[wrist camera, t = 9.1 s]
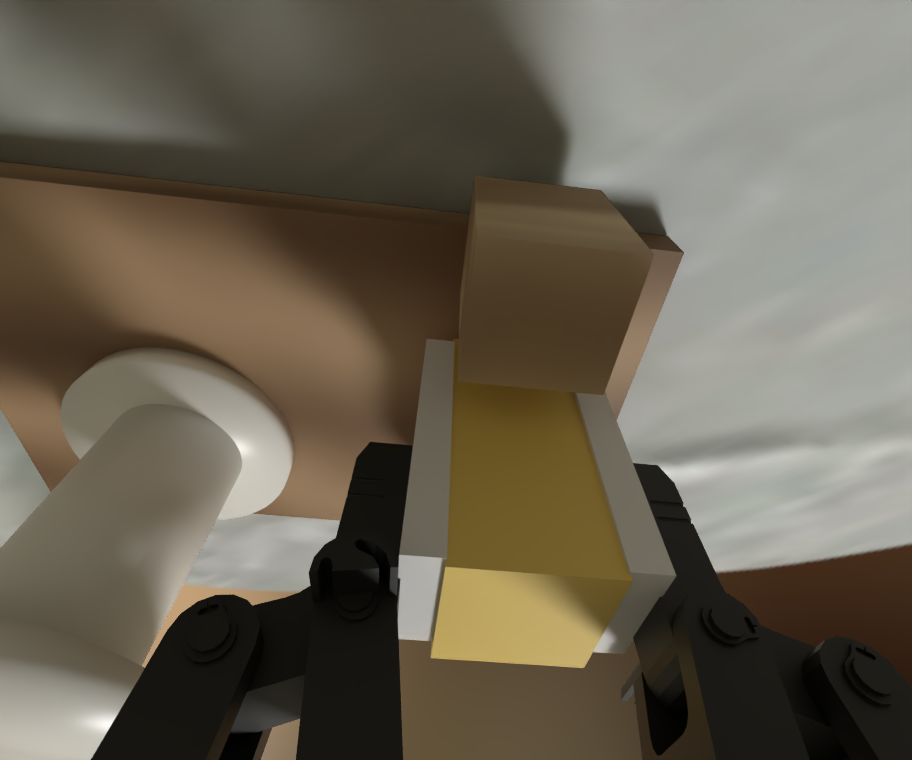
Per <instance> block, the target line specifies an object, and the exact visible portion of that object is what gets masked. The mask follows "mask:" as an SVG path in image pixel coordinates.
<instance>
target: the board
mask: <svg viewBox="0 0 912 760" xmlns="http://www.w3.org/2000/svg"><path fill="white" fill-rule="evenodd" d="M683 254H684V252H683V251H682V250H681V249H680V248H679V247H678V246H677V245H676V244H675V243H674V242H673V241H672V240H671V239H670V238H669V237H668V236H663V235H654V234H645V233H636V232H635V231H634V229H633V228H632V227H631V226H630V225H629V223H628V222H627V221H626V220H625V219H624V217H623V216H622V215H621V214H620V213H619V211H618V210H617V209H616V208H615V207H614V205H613V204H612V203H611V202H610V200H609V199H608V198H607V197H606V196H605V194H604V193H603V192H602V191H601V190H594V189H586V188H577V187H568V186H560V185H551V184H542V183H534V182H525V181H516V180H508V179H499V178H490V177H482V176H474V182H473V190H472V199H471V207H470V214H466V213H457V212H448V211H439V210H430V209H421V208H412V207H403V206H394V205H385V204H376V203H367V202H358V201H349V200H340V199H331V198H322V197H313V196H304V195H295V194H286V193H277V192H268V191H259V190H250V189H241V188H232V187H224V186H215V185H206V184H197V183H188V182H179V181H170V180H161V179H152V178H143V177H134V176H125V175H116V174H107V173H98V172H89V171H80V170H71V169H62V168H53V167H44V166H35V165H26V164H17V163H8V162H0V408H1V410H2V412H3V413H4V415H5V417H6V418H7V420H8V422H9V423H10V425H11V427H12V428H13V430H14V432H15V433H16V435H17V437H18V438H19V440H20V442H21V443H22V445H23V447H24V448H25V450H26V452H27V453H28V455H29V457H30V458H31V460H32V462H33V463H34V465H35V467H36V468H37V470H38V471H39V473H40V475H41V476H42V478H43V480H44V481H45V483H46V485H47V486H48V488H49V490H50V491H51V492H52V491H53V489H54V488H55V487H56V486H57V485H58V484H59V483H60V482H61V481H62V479H63V478H64V477H65V476H66V475H67V474H68V473H69V472H70V471H71V469H72V468H73V467H74V466H75V465H76V464H77V463H78V462H79V461H80V459H79V458H78V456H77V455H76V454H75V453H74V451H73V450H72V448H71V446H70V445H69V443H68V441H67V439H66V436H65V434H64V432H63V428H62V424H61V414H60V410H61V404H62V400H63V398H64V396H65V393H66V391H67V390H68V389H69V387H70V386H71V385H72V384H73V383H74V382H75V381H76V380H77V379H78V378H79V377H80V376H81V375H83V374H84V373H85V372H86V371H87V370H88V369H89V368H90V367H92V366H93V365H94V364H95V363H96V362H97V361H99V360H101V359H102V358H104V357H106V356H108V355H110V354H113V353H116V352H119V351H123V350H128V349H133V348H145V347H154V348H168V349H175V350H181V351H185V352H189V353H193V354H197V355H200V356H202V357H205V358H208V359H211V360H213V361H216V362H218V363H220V364H222V365H225V366H227V367H229V368H230V369H232V370H234V371H236V372H237V373H239V374H241V375H242V376H244V377H245V378H247V379H248V380H250V381H251V382H253V383H254V384H255V385H256V386H257V387H259V388H260V389H261V390H262V391H263V392H265V393H266V394H267V395H268V396H269V398H270V399H271V400H272V401H273V402H274V403H275V404H276V405H277V407H278V408H279V409H280V411H281V412H282V413H283V415H284V417H285V418H286V420H287V422H288V424H289V426H290V428H291V431H292V433H293V437H294V442H295V459H294V463H293V466H292V469H291V472H290V474H289V477H288V479H287V482H286V484H285V487H284V488H283V490H282V492H281V493H280V495H279V496H278V497H277V498H276V499H275V500H274V501H273V502H272V503H271V504H269V505H268V506H267V507H265V508H263V509H261V510H259V511H257V512H255V513H254V514H267V515H279V516H291V517H304V518H316V519H328V520H341V516H342V513H343V509H344V505H345V501H346V497H347V494H348V489H349V485H350V481H351V479H352V474H353V470H354V466H355V462H356V458H357V457H358V455H359V454H360V453H361V452H362V451H363V449H364V448H365V447H366V446H367V445H368V444H369V442H379V443H391V444H402V445H413V442H414V434H415V426H416V419H417V411H418V403H419V395H420V387H421V379H422V371H423V363H424V356H425V348H426V340H427V339H435V340H446V341H453V338H454V339H459V354H458V381H459V382H470V383H480V384H491V385H501V386H512V387H522V388H533V389H543V390H554V391H564V392H575V393H585V394H596V395H604V393H605V392H606V395H607V398H608V400H609V403H610V405H611V408H612V411H613V413H614V416H615V418H616V420H617V418H618V415H619V413H620V410H621V408H622V405H623V403H624V400H625V398H626V395H627V393H628V390H629V388H630V385H631V383H632V380H633V378H634V375H635V373H636V370H637V368H638V365H639V363H640V361H641V358H642V356H643V353H644V351H645V348H646V346H647V343H648V341H649V338H650V336H651V333H652V331H653V328H654V326H655V323H656V321H657V318H658V316H659V313H660V311H661V308H662V306H663V303H664V301H665V298H666V296H667V293H668V291H669V289H670V286H671V284H672V281H673V279H674V276H675V274H676V271H677V269H678V266H679V264H680V261H681V259H682V256H683Z"/></svg>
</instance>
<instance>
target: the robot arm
mask: <svg viewBox="0 0 912 760" xmlns="http://www.w3.org/2000/svg"><path fill="white" fill-rule="evenodd" d="M454 346H455V341H446V340H435V339H427V340H426V348H425V356H424V363H423V371H422V379H421V387H420V395H419V403H418V411H417V419H416V426H415V434H414V442H413V445H402V444H391V443H379V442H369V444H368V445H367V446H366V447H365V448H364V449H363V451H362V452H361V453H360V454H359V455H358V457H357V458H356V462H355V466H354V470H353V474H352V479H351V481H350V485H349V489H348V494H347V497H346V501H345V505H344V509H343V513H342V516H341V520H340V524H339V528H338V532H337V536H336V538H335V539H334V540H332V541H330V542H328V543H327V544H325V545H324V546H323V547H322V549H321V550H320V551H319V552H318V553H317V554H316V556H315V557H314V559H313V562H312V565H311V568H310V571H309V577H310V585H311V586H309V587H308V588H306V589H304V590H303V591H301V592H299V593H297V594H294V595H291V596H288V597H286V598H281V599H278V600H273V601H269V602H265V603H261V604H258V605H254V606H252V605H251V604H250V602H248V600H246V599H243V598H241V597H238V596H236V595H215V596H212V597H209V598H206V599H204V600H201V601H198V602H196V603H195V604H194V605H192V606H191V607H190V608H188V609H187V610H185V611H184V612H182V613H181V614H180V615H179V616H178V618H177V619H176V620H175V622H174V623H173V624H172V625H171V626H170V628H169V629H168V630H167V632H166V633H165V635H164V637H163V639H162V640H161V642H160V644H159V645H158V647H157V649H156V650H155V652H154V654H153V656H152V657H151V659H150V661H149V662H148V664H147V666H146V667H145V669H144V671H143V672H142V674H141V676H140V677H139V679H138V681H137V682H136V684H135V686H134V687H133V689H132V691H131V693H130V694H129V696H128V698H127V699H126V701H125V703H124V704H123V706H122V708H121V709H120V711H119V713H118V714H117V716H116V718H115V720H114V721H113V723H112V725H111V726H110V728H109V730H108V731H107V733H106V735H105V736H104V738H103V740H102V741H101V743H100V745H99V747H98V748H97V750H96V752H95V753H94V755H93V757H92V758H91V760H261V757H262V754H263V752H264V748H265V746H266V743H267V740H268V737H269V735H270V732H271V729H272V727H275V726H278V725H281V724H284V723H287V722H291V721H294V720H297V719H299V718H300V727H299V736H298V745H297V754H296V760H403V748H402V722H401V721H402V720H401V694H400V669H399V668H400V667H399V640H398V639H408V640H423V641H433V636H434V630H435V624H436V617H437V611H438V605H439V599H440V593H441V586H442V580H443V574H444V568H445V562H446V561H447V545H448V517H449V488H450V460H451V432H452V403H453V375H454ZM573 393H574V397H575V400H576V403H577V406H578V410H579V413H580V416H581V420H582V423H583V426H584V429H585V433H586V436H587V439H588V442H589V446H590V449H591V452H592V455H593V459H594V462H595V465H596V468H597V472H598V475H599V478H600V481H601V485H602V488H603V491H604V494H605V498H606V501H607V504H608V507H609V511H610V514H611V517H612V520H613V524H614V527H615V530H616V534H617V537H618V540H619V543H620V547H621V550H622V553H623V556H624V560H625V563H626V566H627V569H628V573H629V575H631V576H632V579H633V582H632V584H631V586H630V587H629V589H628V591H627V593H626V594H625V596H624V598H623V600H622V601H621V603H620V605H619V607H618V609H617V610H616V612H615V614H614V616H613V617H612V619H611V621H610V623H609V624H608V626H607V628H606V630H605V631H604V633H603V635H602V637H601V639H600V640H599V642H598V644H597V646H596V647H595V649H594V651H593V652H601V653H617V654H624V653H625V652H626V651H627V649H628V648H629V646H630V645H631V643H632V641H633V640H634V642H635V646H636V649H637V653H638V656H639V660H640V662H639V663H638V665H637V666H636V667H635V669H634V670H633V671H632V673H631V674H630V676H629V677H628V678H627V680H626V682H625V683H624V685H623V687H622V690H621V701H624V702H627V700H628V699H629V698H630V697H631V695H632V694H633V693H634V694H635V704H636V711H637V719H638V727H639V735H640V742H641V751H642V759H643V760H912V687H911V686H910V685H909V683H908V682H907V681H906V679H905V678H904V677H903V676H902V675H901V674H900V673H899V672H898V670H897V669H896V668H895V667H894V666H893V665H892V664H891V663H890V662H889V661H888V660H887V659H885V658H884V657H883V656H882V655H880V654H879V653H878V652H876V651H875V650H874V649H872V648H871V647H869V646H867V645H865V644H863V643H861V642H859V641H857V640H854V639H852V638H846V637H840V636H835V637H832V638H829V639H825V640H824V641H823V642H822V643H821V644H820V645H819V646H817V647H814V646H812V645H809V644H806V643H804V642H801V641H799V640H796V639H793V638H790V637H788V636H786V635H783V634H780V633H778V632H775V631H772V630H770V629H768V628H766V627H764V626H762V625H760V624H759V622H758V620H757V618H756V617H755V616H754V615H753V614H752V613H751V612H750V610H748V608H747V607H746V606H745V605H744V604H743V603H741V602H739V601H738V600H737V599H735V598H734V597H732V596H731V595H729V594H727V593H726V592H725V591H724V589H723V587H722V585H721V584H720V581H719V580H718V577H717V575H716V573H715V570H714V568H713V566H712V564H711V562H710V560H709V557H708V555H707V553H706V551H705V549H704V547H703V544H702V542H701V540H700V538H699V536H698V534H697V531H696V529H695V527H694V525H693V524H691V518H690V516H689V514H688V512H687V510H686V508H685V507H683V501H682V499H681V497H680V495H679V492H678V490H677V488H676V486H675V484H674V483H673V481H672V480H671V479H670V478H669V477H668V476H667V475H666V474H665V473H664V472H663V471H662V470H661V469H660V467H659V466H658V465H647V464H636V463H633V462H632V460H631V457H630V454H629V452H628V449H627V447H626V444H625V442H624V439H623V436H622V434H621V431H620V429H619V426H618V423H617V421H616V418H615V416H614V413H613V411H612V408H611V405H610V403H609V400H608V398H607V395H606V392H605V393H604V395H596V394H585V393H575V392H573Z"/></svg>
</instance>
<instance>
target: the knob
mask: <svg viewBox="0 0 912 760" xmlns="http://www.w3.org/2000/svg"><path fill="white" fill-rule="evenodd" d="M60 414H61V424H62V428H63V432H64V434H65V436H66V439H67V441H68V443H69V445H70V446H71V448H72V450H73V451H74V453H75V454H76V455H77V456H78V458H79V459H80V461H79V462H78V463H77V464H76V465H75V466H74V467H73V468H72V469H71V471H70V472H69V473H68V474H67V475H66V476H65V477H64V478H63V479H62V481H61V482H60V483H59V484H58V485H57V486H56V487H55V488H54V489H53V491H52V492H51V493H50V494H49V495H48V496H47V497H46V498H45V499H44V501H43V502H42V503H41V504H40V505H39V506H38V507H37V508H36V509H35V511H34V512H33V513H32V514H31V515H30V516H29V517H28V518H27V519H26V521H25V522H24V523H23V524H22V525H21V526H20V527H19V528H18V529H17V531H16V532H15V533H14V534H13V535H12V536H11V537H10V538H9V539H8V541H7V542H6V543H5V544H4V545H3V546H2V547H1V548H0V760H91V758H92V757H93V755H94V753H95V752H96V750H97V748H98V747H99V745H100V743H101V741H102V740H103V738H104V736H105V735H106V733H107V731H108V730H109V728H110V726H111V725H112V723H113V721H114V720H115V718H116V716H117V714H118V713H119V711H120V709H121V708H122V706H123V704H124V703H125V701H126V699H127V698H128V696H129V694H130V693H131V691H132V689H133V687H134V686H135V684H136V682H137V681H138V679H139V677H140V676H141V674H142V672H143V671H144V669H145V668H144V667H142V664H143V662H144V660H145V658H146V656H147V654H148V652H149V651H150V649H151V647H152V645H153V643H154V641H155V639H156V637H157V635H158V633H159V630H160V629H161V627H162V625H163V623H164V621H165V619H166V617H167V615H168V613H169V611H170V609H171V608H172V605H173V604H174V602H175V600H176V598H177V596H178V594H179V592H180V590H181V588H182V586H183V584H184V582H185V580H186V578H187V576H188V574H189V572H190V570H191V569H192V567H193V565H194V563H195V561H196V559H197V557H198V555H199V553H200V551H201V549H202V547H203V545H204V543H205V541H206V539H207V537H208V535H209V533H210V531H211V529H212V527H213V526H214V524H215V522H216V520H219V519H231V518H238V517H242V516H246V515H249V514H252V513H255V512H257V511H259V510H261V509H263V508H265V507H267V506H268V505H269V504H271V503H272V502H273V501H274V500H275V499H276V498H277V497H278V496H279V495H280V493H281V492H282V490H283V488H284V487H285V484H286V482H287V479H288V477H289V474H290V472H291V469H292V466H293V463H294V459H295V442H294V437H293V433H292V431H291V428H290V426H289V424H288V422H287V420H286V418H285V417H284V415H283V413H282V412H281V411H280V409H279V408H278V407H277V405H276V404H275V403H274V402H273V401H272V400H271V399H270V398H269V396H268V395H267V394H266V393H265V392H263V391H262V390H261V389H260V388H259V387H257V386H256V385H255V384H254V383H253V382H251V381H250V380H248V379H247V378H245V377H244V376H242V375H241V374H239V373H237V372H236V371H234V370H232V369H230V368H229V367H227V366H225V365H222V364H220V363H218V362H216V361H213V360H211V359H208V358H205V357H202V356H200V355H197V354H193V353H189V352H185V351H181V350H175V349H168V348H154V347H145V348H133V349H128V350H123V351H119V352H116V353H113V354H110V355H108V356H106V357H104V358H102V359H101V360H99V361H97V362H96V363H95V364H94V365H93V366H92V367H90V368H89V369H88V370H87V371H86V372H85V373H84V374H83V375H81V376H80V377H79V378H78V379H77V380H76V381H75V382H74V383H73V384H72V385H71V386H70V387H69V389H68V390H67V391H66V393H65V396H64V398H63V400H62V404H61V410H60Z"/></svg>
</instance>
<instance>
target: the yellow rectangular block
mask: <svg viewBox="0 0 912 760" xmlns="http://www.w3.org/2000/svg"><path fill="white" fill-rule="evenodd" d="M453 341H455V346H454V375H453V403H452V432H451V460H450V488H449V517H448V545H447V561H446V562H445V568H444V574H443V580H442V586H441V593H440V599H439V605H438V611H437V617H436V624H435V630H434V636H433V641H432V645H431V658H441V659H456V660H473V661H487V662H502V663H517V664H532V665H547V666H563V667H578V668H584V667H585V665H586V663H587V661H588V660H589V658H590V656H591V654H592V653H593V651H594V649H595V647H596V646H597V644H598V642H599V640H600V639H601V637H602V635H603V633H604V631H605V630H606V628H607V626H608V624H609V623H610V621H611V619H612V617H613V616H614V614H615V612H616V610H617V609H618V607H619V605H620V603H621V601H622V600H623V598H624V596H625V594H626V593H627V591H628V589H629V587H630V586H631V584H632V582H633V579H632V576H631V575H629V573H628V569H627V566H626V563H625V560H624V556H623V553H622V550H621V547H620V543H619V540H618V537H617V534H616V530H615V527H614V524H613V520H612V517H611V514H610V511H609V507H608V504H607V501H606V498H605V494H604V491H603V488H602V485H601V481H600V478H599V475H598V472H597V468H596V465H595V462H594V459H593V455H592V452H591V449H590V446H589V442H588V439H587V436H586V433H585V429H584V426H583V423H582V420H581V416H580V413H579V410H578V406H577V403H576V400H575V397H574V393H573V392H564V391H554V390H543V389H533V388H522V387H512V386H501V385H491V384H480V383H470V382H459V381H458V354H459V339H454V338H453Z"/></svg>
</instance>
